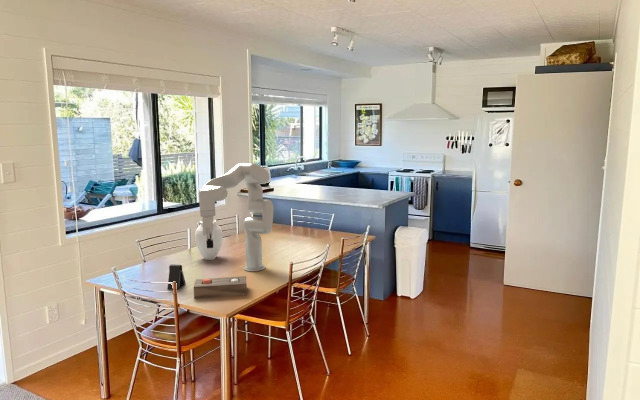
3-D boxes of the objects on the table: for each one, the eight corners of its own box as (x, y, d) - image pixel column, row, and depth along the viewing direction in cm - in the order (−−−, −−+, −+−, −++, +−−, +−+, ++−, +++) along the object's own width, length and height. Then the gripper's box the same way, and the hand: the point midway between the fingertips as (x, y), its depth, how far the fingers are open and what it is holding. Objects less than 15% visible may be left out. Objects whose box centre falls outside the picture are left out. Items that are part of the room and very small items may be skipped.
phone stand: (178, 289, 245) (176, 267, 243) (167, 289, 246) (166, 267, 244) (185, 284, 253) (184, 262, 251) (175, 283, 254) (174, 262, 252)
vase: (217, 262, 292) (215, 223, 288) (190, 261, 296) (188, 223, 292) (228, 255, 309) (226, 218, 305) (203, 253, 313) (201, 217, 309)
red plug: (203, 289, 240) (202, 279, 239) (211, 288, 241) (210, 278, 240) (202, 291, 236) (202, 281, 235) (210, 291, 237) (210, 281, 236)
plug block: (196, 290, 243) (195, 279, 242) (246, 286, 248) (246, 276, 247) (194, 298, 232) (193, 286, 231) (246, 294, 236) (246, 283, 235)
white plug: (231, 289, 242) (230, 279, 241) (238, 288, 243) (238, 278, 242) (230, 291, 238) (230, 281, 237) (238, 291, 239) (238, 281, 238)
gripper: (201, 210, 242) (203, 244, 246) (198, 216, 228) (201, 252, 231) (216, 209, 244) (218, 243, 247) (214, 215, 229) (216, 251, 233)
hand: (210, 247), depth 239 cm, fingers closed
